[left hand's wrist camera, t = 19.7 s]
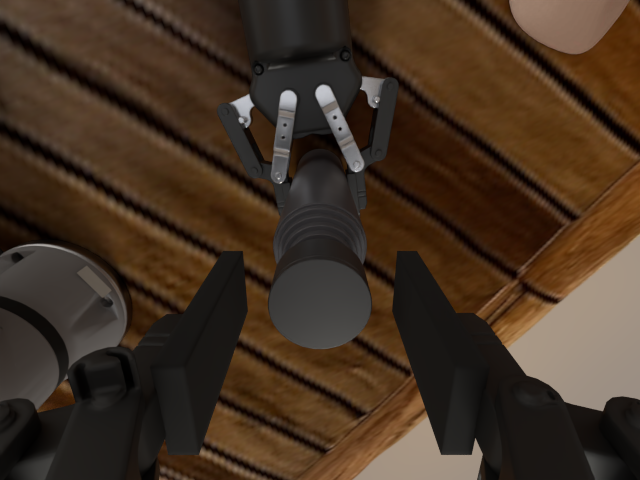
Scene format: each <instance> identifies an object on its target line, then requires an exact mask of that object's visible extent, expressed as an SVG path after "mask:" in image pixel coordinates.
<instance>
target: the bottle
mask: <svg viewBox="0 0 640 480" xmlns="http://www.w3.org/2000/svg"><path fill="white" fill-rule="evenodd" d="M318 238H319V239H330V240H334V241H337V242H340V243H342V244H344V245H345V246H347V247H349V248H350V249H351V250H352V251H353V252H354V253H355V254H356V255H357V256H358V258H359V259H360V261H361V262H362V264H363V262H364V259H365V255H366V249H367V242H366V236H365V232H364V229H363V226H362V223H361V220H360V217H359V214H358V211H357V208H356V205H355V202H354V199H353V196H352V193H351V190H350V187H349V184H348V181H347V178H346V175H345V172H344V169H343V166H342V164H341V161H340V160H339V158H338V157H337V156H336V155H335V154H334V153H332V152H331V151H329V150H325V149H315V150H311V151H309V152H308V153H306V154H305V155H304V156H303V157H302V158H301V160H300V161H299V164H298V166H297V169H296V172H295V175H294V178H293V181H292V184H291V187H290V190H289V193H288V196H287V199H286V202H285V205H284V208H283V211H282V214H281V217H280V220H279V223H278V226H277V229H276V232H275V236H274V241H273V250H274V256H275V260H276V263H277V264H278V262H279V260H280V259H281V257H282V256H283V255H284V254H285V252H287V251H288V250H289V249H290V248H291V247H293V246H294V245H296V244H298V243H300V242H303V241H306V240H310V239H318Z"/></svg>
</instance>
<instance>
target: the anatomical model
mask: <svg viewBox="0 0 640 480" xmlns="http://www.w3.org/2000/svg"><path fill="white" fill-rule="evenodd" d="M628 2H629V0H509V3H510V8H511V12H512V14H513V17H514V19H515V20H516V22H517V23H518V25H519V26H520V27H521V28H522V29H523V30H524V31H525V32H526V33H527V34H528V35H529V36H531V37H532V38H534V39H535V40H537V41H538V42H540V43H542V44H544V45H546V46H548V47H550V48H553V49H555V50H558V51H561V52H564V53H569V54H580V53H583V52H586V51H587V50H589V49H591V48H592V47H593V46H594V45H595V44H596V43H597V42H598V41H599V40H600V39H601V38H602V37H603V36H604V35H605V33H606V32H607V31H608V30H609V29H610V27H611V26H612V25H613V23H614V22H615V21H616V20H617V18H618V17H619V16H620V14H621V13H622V11H623V10H624V8H625V7H626V5H627V4H628Z"/></svg>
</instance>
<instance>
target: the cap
mask: <svg viewBox="0 0 640 480" xmlns="http://www.w3.org/2000/svg"><path fill="white" fill-rule="evenodd" d="M268 309H269V314H270V317H271V320H272V322H273V324H274V325H275V327H276V328H277V330H278V331H279V332H280V333H281V334H282V335H283V336H284V337H285V338H287V339H288V340H290V341H291V342H293V343H295V344H297V345H300V346H303V347H307V348H313V349H328V348H333V347H337V346H340V345H342V344H345V343H347V342H348V341H350V340H352V339H353V338H354V337H356V336H357V335H358V334H359V333H360V332H361V331H362V330H363V328H364V327H365V325H366V324H367V322H368V320H369V317H370V314H371V309H372V298H371V293H370V290H369V286H368V282H367V278H366V274H365V270H364V267H363V264H362V262H361V261H360V259H359V258H358V256H357V255H356V254H355V253H354V252H353V251H352V250H351V249H350V248H349V247H347V246H345V245H344V244H342V243H340V242H337V241H334V240H330V239H319V238H318V239H310V240H306V241H303V242H300V243H298V244H296V245H294V246H293V247H291V248H290V249H289V250H288V251H287V252H285V254H284V255H283V256H282V257H281V259H280V260H279V262H278V264H277V267H276V270H275V274H274V278H273V282H272V285H271V289H270V293H269V298H268Z"/></svg>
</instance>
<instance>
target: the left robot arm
mask: <svg viewBox="0 0 640 480" xmlns="http://www.w3.org/2000/svg"><path fill="white" fill-rule="evenodd" d="M247 312H248V309H247V297H246V285H245V273H244V261H243V251H223V252H222V254H221V256H220V257H219V259H218V260H217V262H216V263H215V265H214V267H213V268H212V270H211V271H210V273H209V274H208V276H207V278H206V279H205V281H204V282H203V284H202V285H201V287H200V289H199V290H198V292H197V293H196V295H195V296H194V298H193V300H192V301H191V303H190V304H189V306H188V307H187V309H186V311H185V312H184V314H166V315H165V316H164V317H162V318H161V319H159V320H158V321H156V322H155V323H154V324H153V325H152V326H151V328H150V329H149V330H148V332H147V333H146V334H145V337H143V338H142V340H141V341H140V342H139V345H138V346H136V348H135V349H134V350H133V352H132V351H131V350H130V349H129V348H124V347H120V346H119V347H116V346H117V345H118V344H119V343H120V342H121V340H122V339H123V338H124V337H125V335H126V334H127V332H128V330H129V328H130V324H131V320H132V304H131V299H130V296H129V293H128V291H127V288H126V287H125V285H124V283H123V281H122V280H121V278H120V277H119V276H118V274H117V273H116V272H115V271H114V270H113V269H112V267H111V266H109V265H108V264H107V263H106V262H105V261H104V260H102V259H101V258H100V257H98V256H97V255H95V254H94V253H92V252H90V251H89V250H87V249H84V248H82V247H80V246H77V245H75V244H72V243H68V242H64V241H59V240H47V239H44V240H34V241H29V242H26V243H23V244H20V245H18V246H16V247H14V248H12V249H10V250H8V251H6V252H3V251H2V250H1V249H0V480H159V473H160V467H159V461H158V456H157V455H158V453H159V451H160V448H161V446H162V444H163V442H164V440H165V441H166V446H167V451H168V455H199V453H200V450H201V447H202V444H203V441H204V438H205V435H206V432H207V429H208V426H209V423H210V420H211V417H212V414H213V412H214V409H215V406H216V403H217V400H218V397H219V394H220V391H221V388H222V385H223V382H224V379H225V376H226V373H227V370H228V368H229V365H230V362H231V359H232V356H233V353H234V350H235V347H236V344H237V341H238V338H239V335H240V332H241V329H242V327H243V324H244V321H245V318H246V315H247ZM392 312H393V315H394V318H395V321H396V324H397V327H398V329H399V332H400V335H401V338H402V341H403V344H404V347H405V350H406V353H407V356H408V359H409V362H410V365H411V368H412V370H413V373H414V376H415V379H416V382H417V385H418V388H419V391H420V394H421V397H422V400H423V403H424V406H425V409H426V412H427V414H428V417H429V420H430V423H431V426H432V429H433V432H434V435H435V438H436V441H437V444H438V447H439V450H440V453H441V455H472V451H473V446H474V441H475V438H476V440H477V442H478V444H479V447H480V449H481V451H482V453H483V456H482V461H481V465H480V470H479V474H478V479H477V480H640V400H638V399H635V398H629V397H613V398H611V399H610V400H609V401H607V402H606V405H605V408H604V410H603V411H598V410H594V409H590V408H586V407H581V406H577V405H573V404H569V403H566V402H564V401H563V399H562V398H561V396H560V395H559V393H558V392H557V391H555V390H554V389H553V388H552V387H551V386H549V385H548V384H546V383H544V382H542V381H540V380H538V379H536V378H533V377H529V376H526V374H525V373H524V371H523V370H522V369H521V367H520V366H519V365H518V363H517V362H516V361H515V359H514V358H513V357H512V356H511V354H510V353H509V351H508V350H507V349H506V347H505V346H504V345H502V342H501V341H500V339H499V338H498V337H497V336H495V333H494V331H493V330H492V329H491V327H490V326H489V325H488V323H487V322H485V321H484V320H483V319H481V318H480V317H478V316H477V315H475V314H474V313H456V312H455V311H454V309H453V307H452V306H451V304H450V303H449V301H448V300H447V298H446V296H445V295H444V293H443V292H442V290H441V289H440V287H439V285H438V284H437V282H436V281H435V279H434V278H433V276H432V274H431V273H430V271H429V270H428V268H427V267H426V265H425V263H424V262H423V260H422V259H421V257H420V256H419V254H418V252H417V251H397V261H396V273H395V285H394V297H393V309H392ZM67 378H68V379H69V383H70V386H71V389H72V392H73V395H74V398H75V402H76V403H75V404H73V405H69V406H65V407H61V408H57V409H52V410H48V411H44V412H39V413H37V410H38V408H39V407H40V406H41V405H42V404H43V403H44V402H45V400H46V399H47V398H48V397H49V396H50V395H51V394H52V392H53V391H54V390H55V389H56V388H57V387H58V386H59V385H60V384H61V383H62V382H63V381H64V380H65V379H67Z"/></svg>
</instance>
